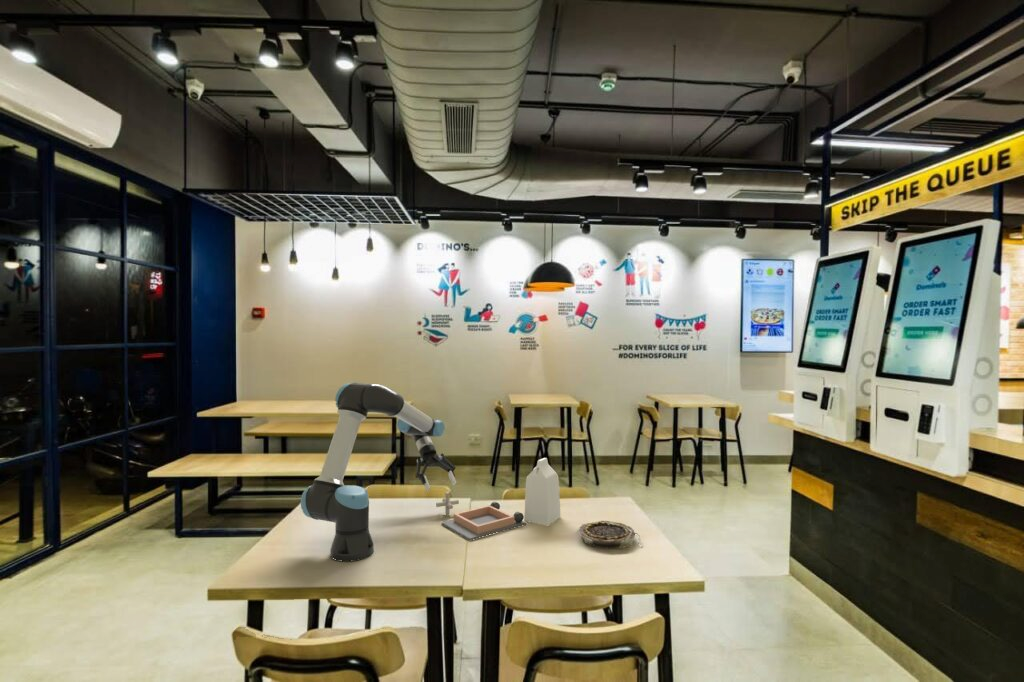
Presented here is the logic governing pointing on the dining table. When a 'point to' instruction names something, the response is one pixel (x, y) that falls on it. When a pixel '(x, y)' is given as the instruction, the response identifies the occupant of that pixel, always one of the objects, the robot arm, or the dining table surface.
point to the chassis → (483, 521)
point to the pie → (608, 534)
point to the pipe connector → (447, 503)
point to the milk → (542, 495)
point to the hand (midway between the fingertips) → (441, 486)
